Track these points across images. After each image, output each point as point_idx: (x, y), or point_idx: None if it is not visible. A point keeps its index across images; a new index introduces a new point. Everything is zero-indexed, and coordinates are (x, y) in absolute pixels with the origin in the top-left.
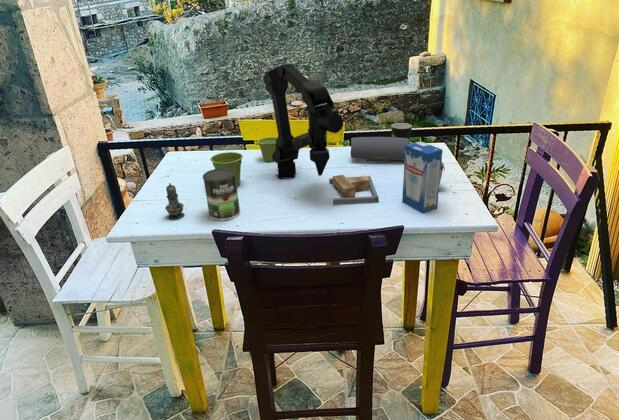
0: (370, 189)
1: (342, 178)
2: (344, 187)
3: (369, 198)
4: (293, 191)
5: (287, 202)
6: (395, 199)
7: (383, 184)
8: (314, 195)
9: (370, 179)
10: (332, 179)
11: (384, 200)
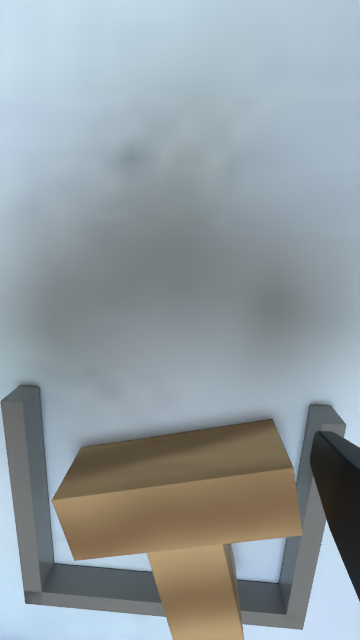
0: None
1: (231, 520)
2: (77, 506)
3: (23, 566)
4: (255, 146)
5: (70, 90)
6: (64, 633)
7: None
8: (159, 295)
9: (254, 621)
10: None
11: None
